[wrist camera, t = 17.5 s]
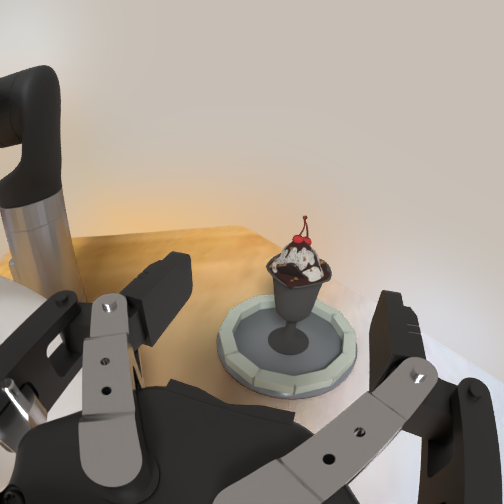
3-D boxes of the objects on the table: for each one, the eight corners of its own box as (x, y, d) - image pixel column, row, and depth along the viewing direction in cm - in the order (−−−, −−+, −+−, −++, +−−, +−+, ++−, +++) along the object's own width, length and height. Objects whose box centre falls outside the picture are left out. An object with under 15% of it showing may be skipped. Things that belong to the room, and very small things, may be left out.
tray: (232, 412, 27) (232, 403, 26) (208, 308, 41) (207, 298, 40) (380, 377, 30) (385, 367, 30) (322, 294, 45) (324, 285, 44)
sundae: (298, 317, 39) (313, 208, 32) (326, 350, 34) (353, 232, 27) (251, 329, 37) (258, 213, 30) (275, 367, 32) (291, 241, 25)
